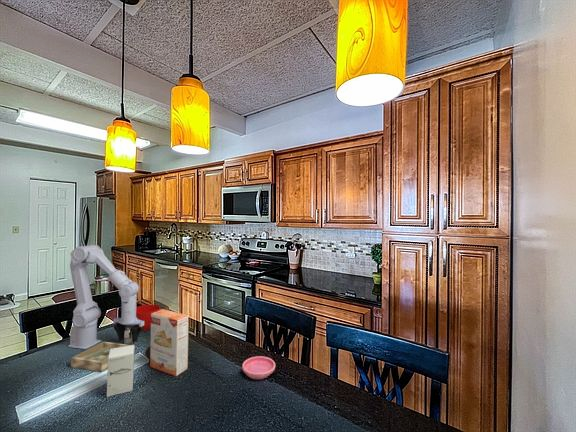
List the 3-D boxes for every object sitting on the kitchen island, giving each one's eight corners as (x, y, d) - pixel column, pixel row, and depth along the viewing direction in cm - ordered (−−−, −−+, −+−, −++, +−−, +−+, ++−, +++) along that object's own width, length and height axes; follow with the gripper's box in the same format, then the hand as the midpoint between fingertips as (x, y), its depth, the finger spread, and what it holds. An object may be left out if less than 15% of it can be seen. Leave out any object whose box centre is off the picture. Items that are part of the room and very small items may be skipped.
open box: (70, 367, 102) (70, 358, 102) (103, 349, 115) (103, 341, 115) (101, 372, 99) (101, 362, 99) (131, 353, 113) (131, 345, 113)
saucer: (268, 361, 109) (268, 353, 109) (280, 377, 98) (280, 368, 98) (238, 368, 104) (238, 359, 104) (247, 386, 93) (248, 377, 93)
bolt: (170, 346, 123) (152, 362, 108) (161, 340, 124) (142, 356, 109) (177, 335, 124) (160, 350, 109) (168, 329, 124) (150, 343, 109)
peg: (122, 346, 119) (122, 330, 119) (127, 343, 122) (128, 327, 122) (128, 347, 118) (128, 331, 118) (133, 343, 121) (134, 328, 121)
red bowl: (144, 337, 127) (144, 316, 127) (125, 329, 137) (126, 309, 137) (169, 328, 138) (169, 309, 138) (150, 321, 147) (151, 302, 147)
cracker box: (148, 367, 102) (150, 312, 103) (162, 360, 108) (163, 308, 108) (175, 377, 96) (176, 319, 97) (188, 369, 102) (189, 314, 102)
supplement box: (105, 398, 85) (106, 358, 85) (108, 385, 92) (109, 347, 92) (132, 391, 89) (133, 353, 89) (133, 379, 95) (134, 343, 95)
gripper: (149, 308, 122) (148, 338, 122) (122, 306, 125) (121, 335, 125) (137, 314, 115) (137, 345, 115) (109, 311, 118) (108, 342, 118)
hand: (128, 340), depth 120 cm, fingers open, 6 cm apart
